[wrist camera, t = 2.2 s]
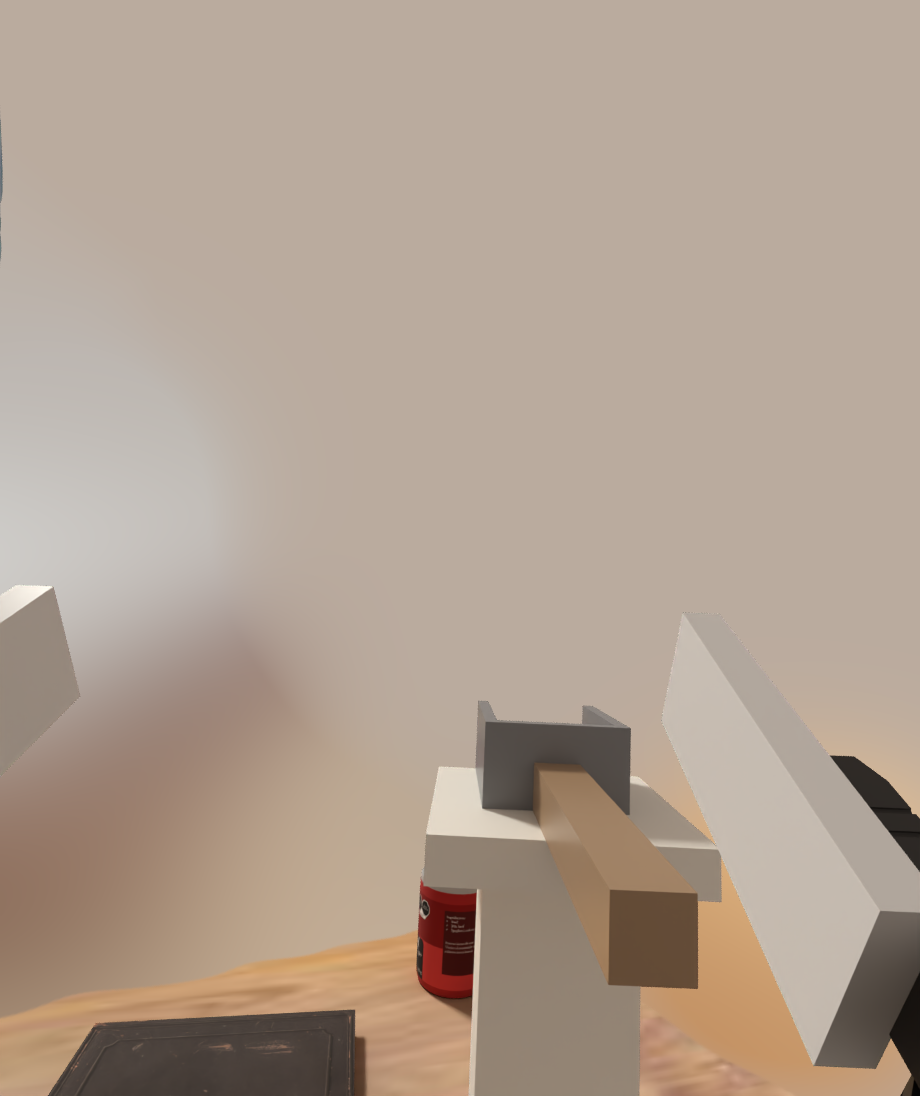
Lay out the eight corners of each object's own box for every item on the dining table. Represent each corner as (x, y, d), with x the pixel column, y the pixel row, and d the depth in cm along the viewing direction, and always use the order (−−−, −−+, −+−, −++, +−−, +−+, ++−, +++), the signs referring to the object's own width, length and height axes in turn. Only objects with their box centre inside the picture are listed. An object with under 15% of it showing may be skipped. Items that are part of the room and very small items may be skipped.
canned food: (436, 952, 72) (441, 854, 73) (498, 973, 68) (502, 869, 70) (401, 984, 65) (407, 876, 67) (468, 1009, 62) (472, 894, 63)
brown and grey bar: (795, 993, 15) (791, 821, 15) (510, 980, 15) (515, 809, 15) (591, 773, 37) (592, 706, 37) (475, 768, 37) (478, 700, 37)
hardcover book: (92, 1050, 54) (95, 1022, 55) (353, 1035, 58) (355, 1009, 58) (-17, 1225, 39) (-12, 1185, 39) (351, 1190, 42) (353, 1153, 42)
